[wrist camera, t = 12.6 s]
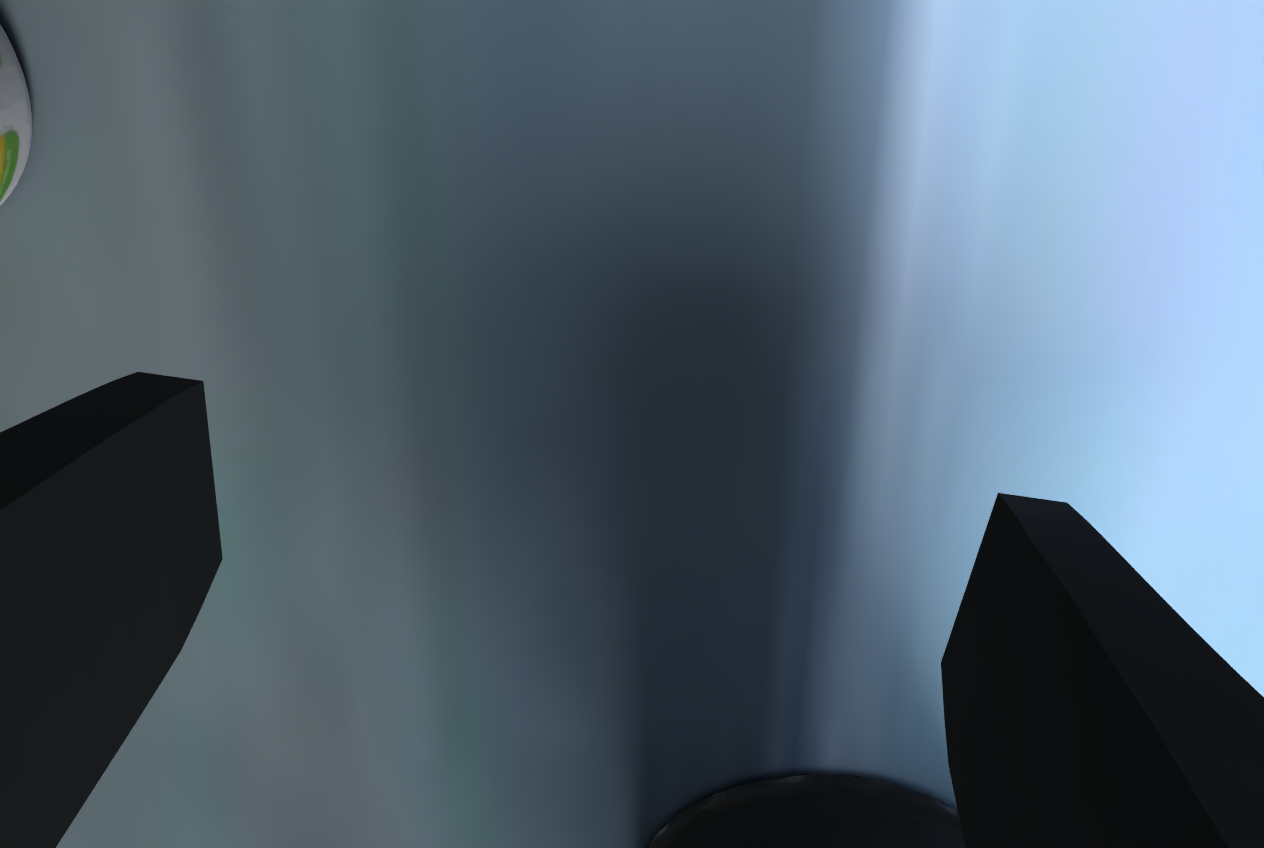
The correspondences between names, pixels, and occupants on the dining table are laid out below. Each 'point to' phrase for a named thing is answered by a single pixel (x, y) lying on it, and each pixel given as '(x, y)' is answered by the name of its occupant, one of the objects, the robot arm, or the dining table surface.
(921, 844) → the milk frother
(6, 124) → the supplement bottle
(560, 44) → the dining table surface
